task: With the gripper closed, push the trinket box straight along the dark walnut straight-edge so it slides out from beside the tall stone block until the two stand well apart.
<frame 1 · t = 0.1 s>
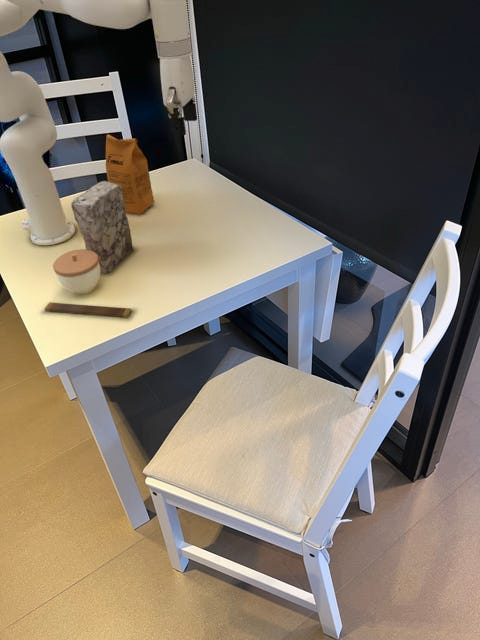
hand: (185, 127, 123), 31 cm above the table, tool pointing down, fingers open, 9 cm apart
coffee package: (134, 207, 162), on the table
trinket box: (84, 287, 130), on the table
stone block: (114, 261, 138), on the table
walnut straight-edge: (88, 311, 121), on the table
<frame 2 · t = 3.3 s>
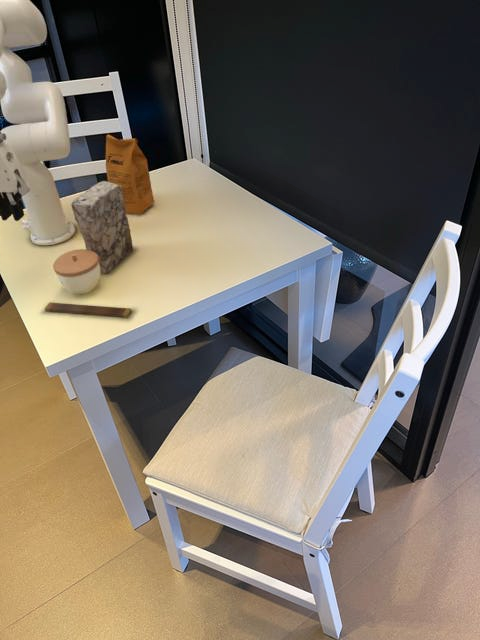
hand: (13, 217, 120), 19 cm above the table, tool pointing down, fingers closed
nothing on the table moved.
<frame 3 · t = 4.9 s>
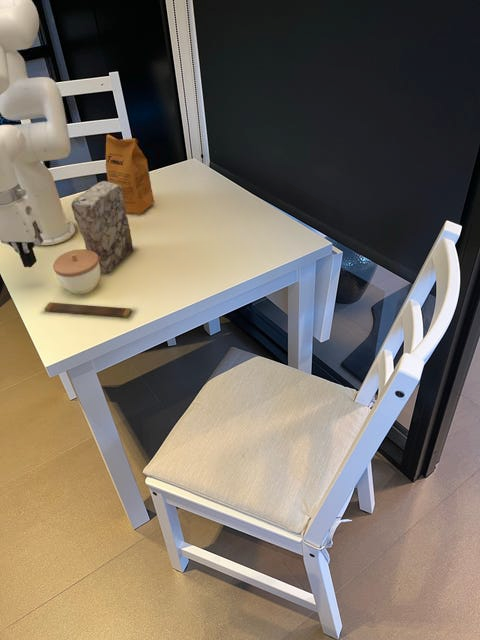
hand: (30, 264, 127), 7 cm above the table, tool pointing down, fingers closed
nothing on the table moved.
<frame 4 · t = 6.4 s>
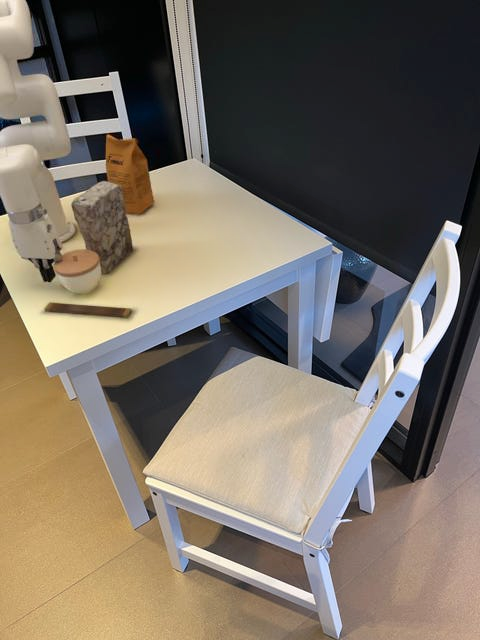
hand: (50, 279, 129), 2 cm above the table, tool pointing down, fingers closed
trinket box: (84, 287, 130), on the table, touching gripper
everything else where it was.
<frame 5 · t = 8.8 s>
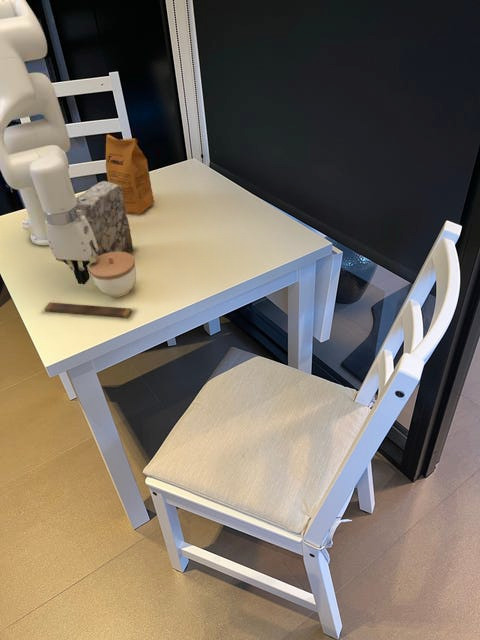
hand: (84, 281, 127), 2 cm above the table, tool pointing down, fingers closed
trinket box: (119, 290, 128), on the table, touching gripper
everything else where it was.
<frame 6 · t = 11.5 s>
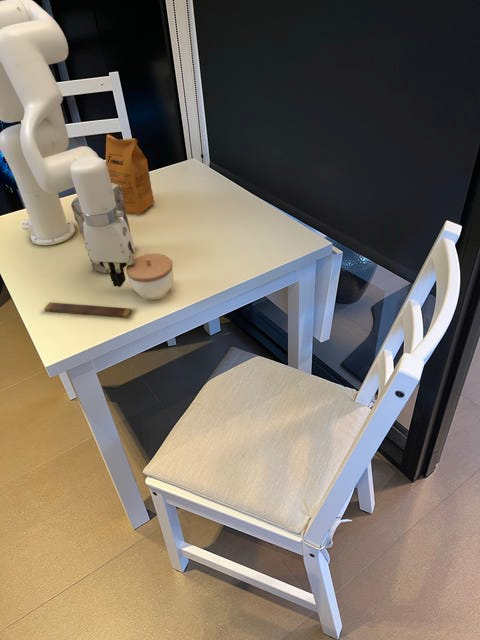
hand: (119, 283, 125), 2 cm above the table, tool pointing down, fingers closed
trinket box: (155, 292, 126), on the table, touching gripper
everything else where it was.
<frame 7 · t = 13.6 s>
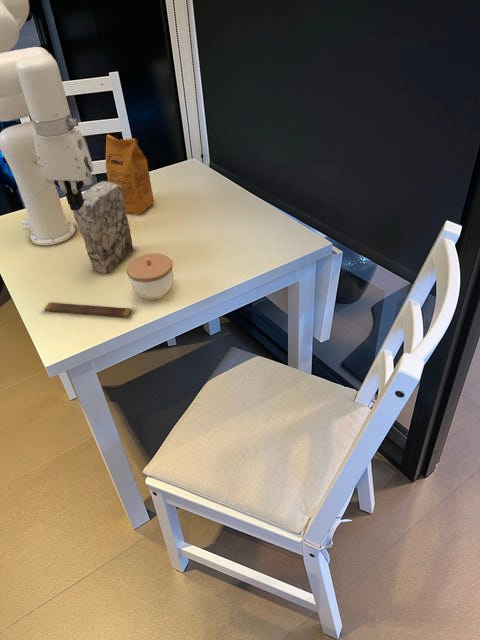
hand: (77, 207, 116), 22 cm above the table, tool pointing down, fingers closed
trinket box: (155, 292, 126), on the table
everything else where it was.
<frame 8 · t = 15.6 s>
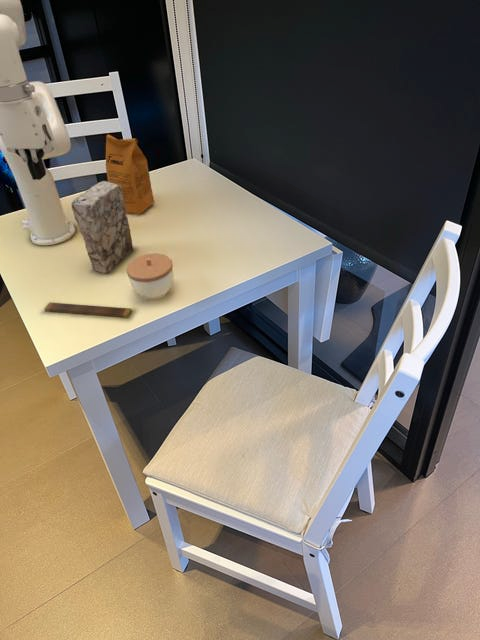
hand: (39, 177, 116), 27 cm above the table, tool pointing down, fingers closed
nothing on the table moved.
at the end: trinket box inside the target area (1.4 cm from its centre), on the table; trinket box touching table; stone block moved 0.2 cm from its start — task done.
